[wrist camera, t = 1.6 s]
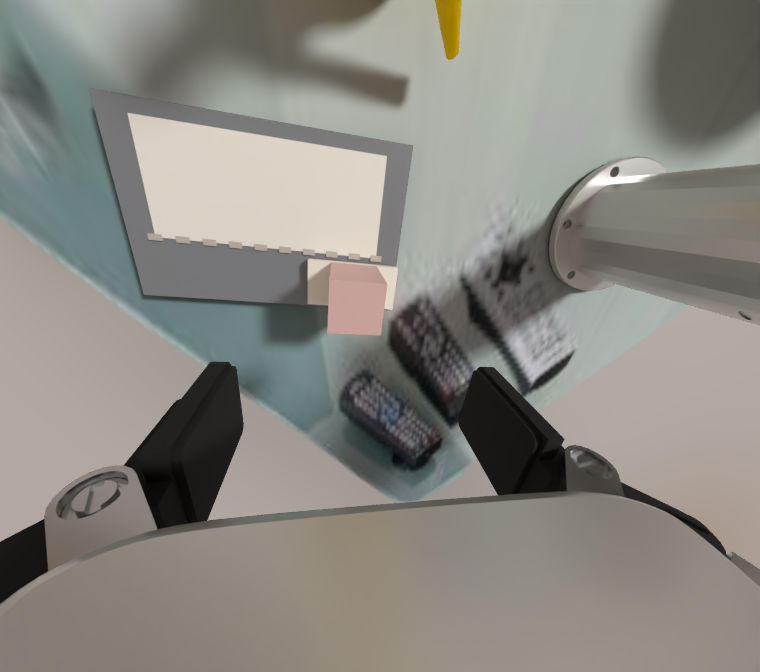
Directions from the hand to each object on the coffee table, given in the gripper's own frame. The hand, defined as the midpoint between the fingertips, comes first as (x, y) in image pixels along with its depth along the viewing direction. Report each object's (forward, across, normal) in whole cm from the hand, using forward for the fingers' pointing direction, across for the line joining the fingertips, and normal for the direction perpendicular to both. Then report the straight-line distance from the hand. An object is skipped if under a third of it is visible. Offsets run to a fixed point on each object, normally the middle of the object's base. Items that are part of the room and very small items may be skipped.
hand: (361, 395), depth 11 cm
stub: (+16, -1, 0) cm, 16 cm away
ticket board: (+18, +6, -5) cm, 20 cm away
